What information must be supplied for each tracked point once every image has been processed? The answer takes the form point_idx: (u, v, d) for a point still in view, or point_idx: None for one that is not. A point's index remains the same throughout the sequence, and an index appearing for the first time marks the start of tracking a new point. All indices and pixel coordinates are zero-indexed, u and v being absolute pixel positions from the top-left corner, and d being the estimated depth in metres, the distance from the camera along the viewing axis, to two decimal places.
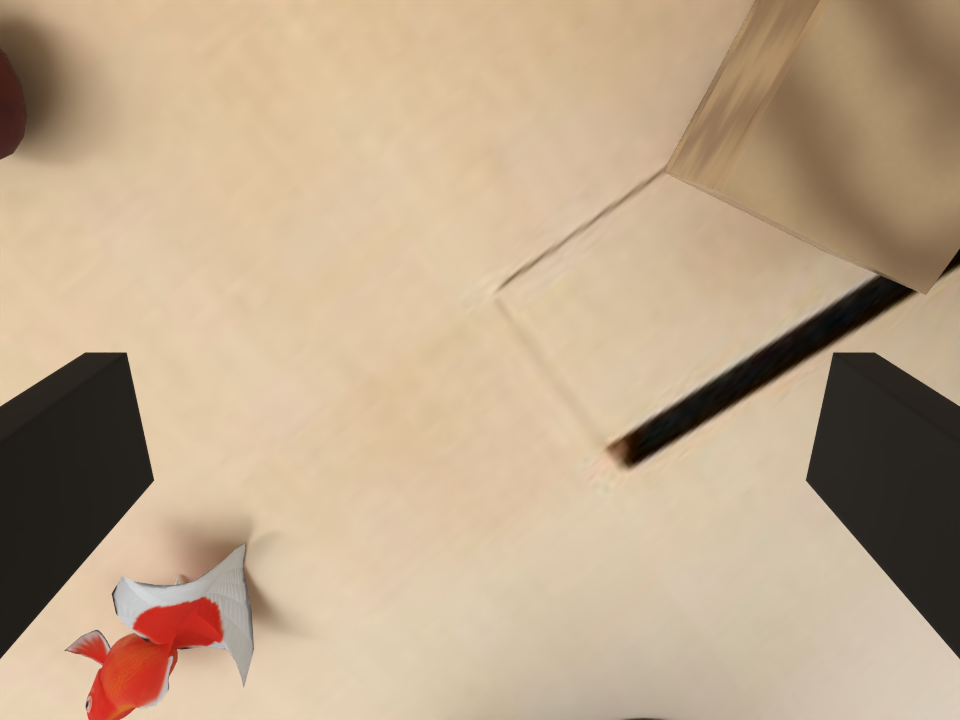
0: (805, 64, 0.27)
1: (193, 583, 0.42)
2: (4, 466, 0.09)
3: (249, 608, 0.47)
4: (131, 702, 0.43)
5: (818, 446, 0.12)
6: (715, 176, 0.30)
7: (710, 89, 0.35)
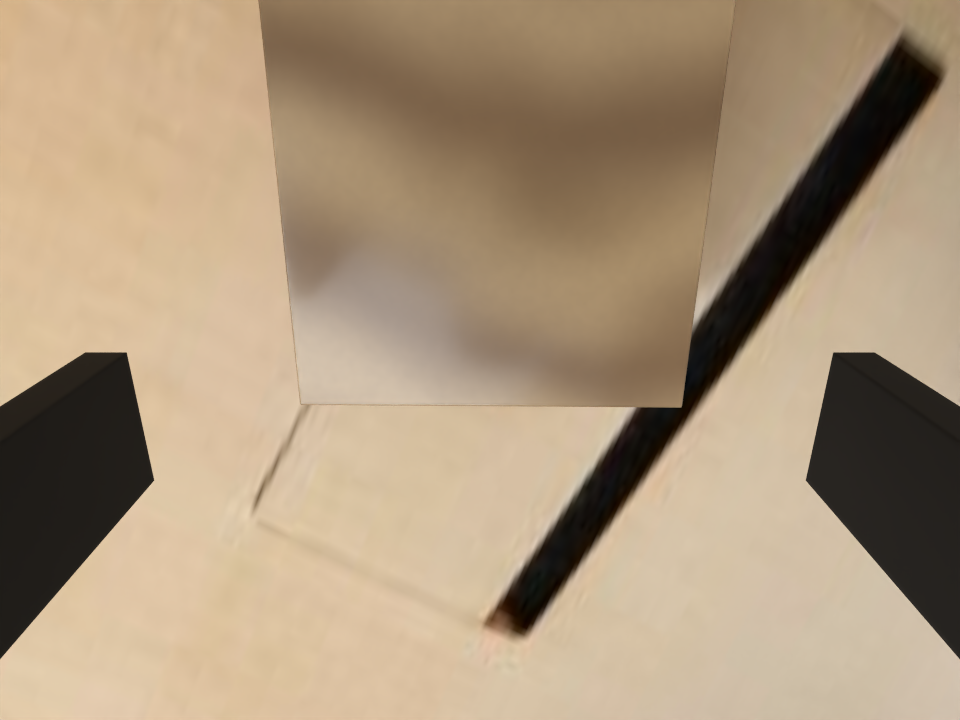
0: (298, 203, 0.17)
1: None
2: (4, 466, 0.09)
3: None
4: None
5: (818, 446, 0.12)
6: None
7: None
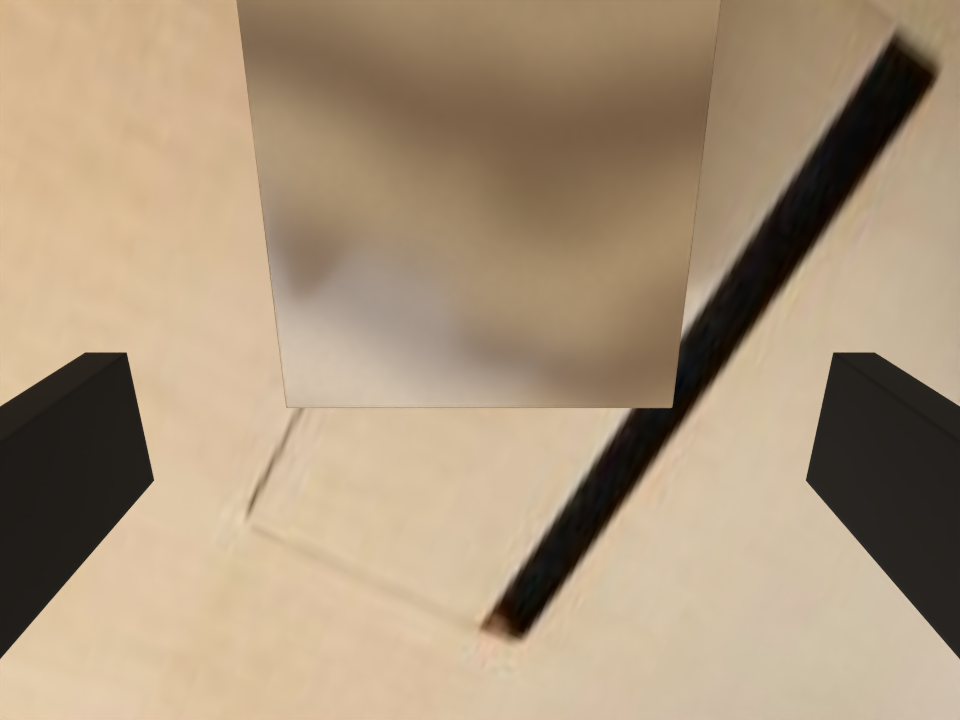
0: (280, 204, 0.17)
1: None
2: (4, 466, 0.09)
3: None
4: None
5: (818, 446, 0.12)
6: None
7: None
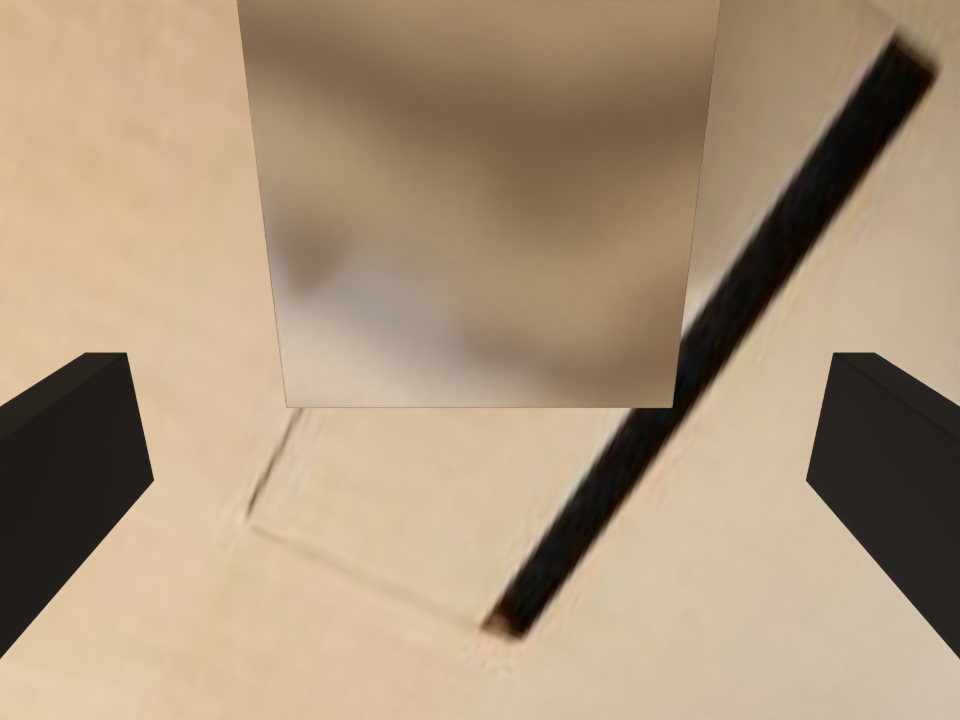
0: (280, 204, 0.17)
1: None
2: (4, 466, 0.09)
3: None
4: None
5: (818, 446, 0.12)
6: None
7: None
